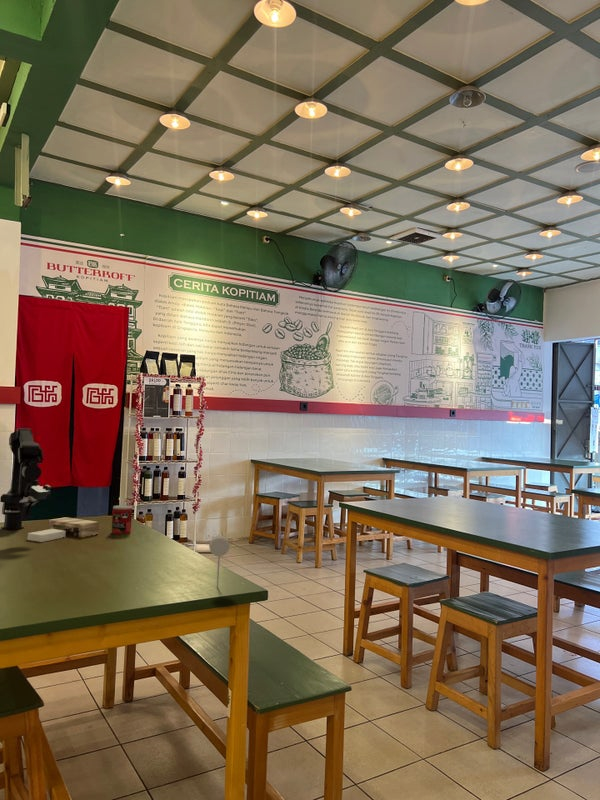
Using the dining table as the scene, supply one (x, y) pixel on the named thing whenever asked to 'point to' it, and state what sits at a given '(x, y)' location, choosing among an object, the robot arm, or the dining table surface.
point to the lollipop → (219, 549)
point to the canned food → (121, 519)
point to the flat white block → (46, 535)
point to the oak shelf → (75, 526)
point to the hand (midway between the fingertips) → (25, 519)
